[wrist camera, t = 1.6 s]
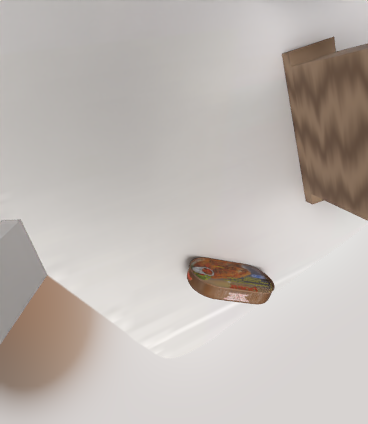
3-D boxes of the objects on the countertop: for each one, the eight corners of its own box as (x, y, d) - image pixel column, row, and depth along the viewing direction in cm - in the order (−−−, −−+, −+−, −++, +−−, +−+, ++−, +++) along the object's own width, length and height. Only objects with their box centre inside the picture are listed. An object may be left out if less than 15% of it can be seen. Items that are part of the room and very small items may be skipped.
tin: (262, 266, 56) (284, 293, 48) (256, 281, 57) (277, 309, 49) (185, 253, 52) (196, 279, 44) (181, 269, 53) (190, 297, 45)
